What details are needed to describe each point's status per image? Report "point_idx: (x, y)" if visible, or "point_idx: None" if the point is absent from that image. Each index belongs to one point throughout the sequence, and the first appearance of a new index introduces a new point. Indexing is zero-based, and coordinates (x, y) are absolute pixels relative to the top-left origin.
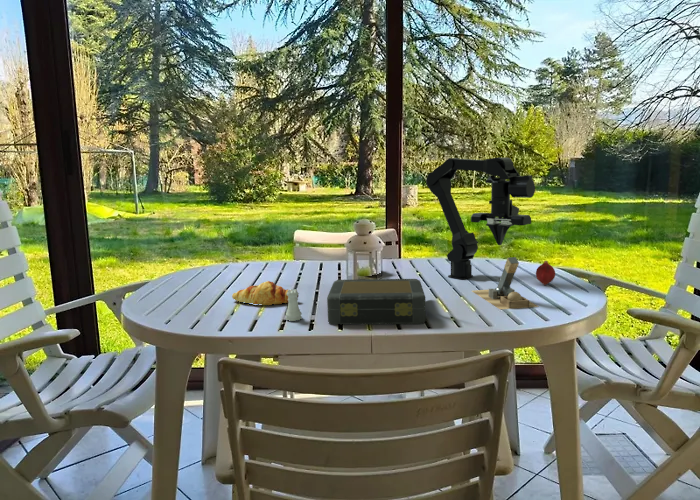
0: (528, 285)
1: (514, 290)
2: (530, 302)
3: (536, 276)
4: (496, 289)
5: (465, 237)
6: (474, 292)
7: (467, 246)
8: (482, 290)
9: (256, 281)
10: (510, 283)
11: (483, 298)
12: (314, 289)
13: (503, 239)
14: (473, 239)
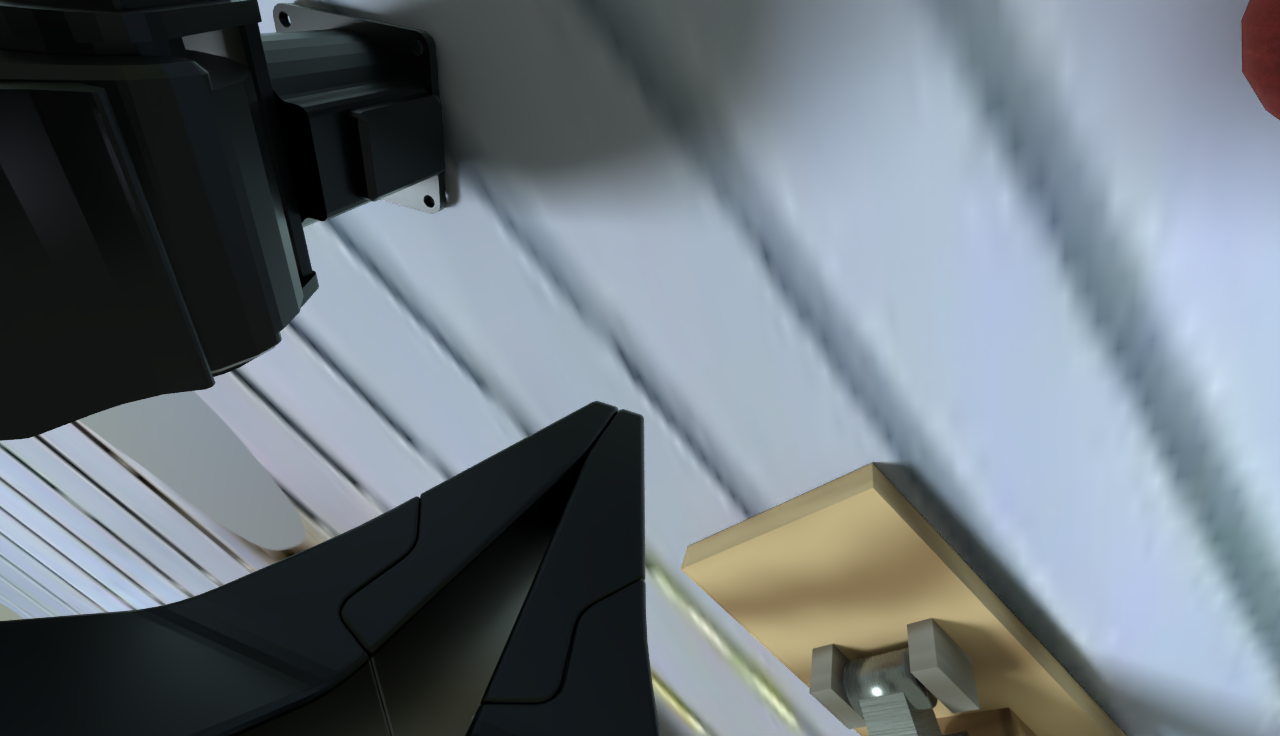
0: (1069, 126)
1: (978, 705)
2: (1085, 721)
3: (1244, 67)
4: (860, 709)
5: (34, 399)
6: (713, 596)
7: (213, 350)
8: (738, 557)
9: (26, 525)
10: None
11: (797, 676)
12: (197, 570)
13: (643, 491)
14: (12, 177)
